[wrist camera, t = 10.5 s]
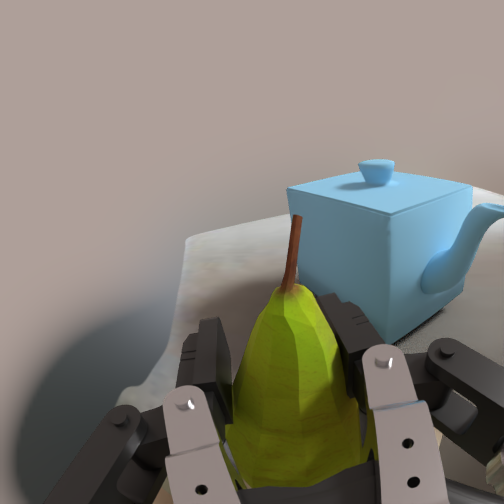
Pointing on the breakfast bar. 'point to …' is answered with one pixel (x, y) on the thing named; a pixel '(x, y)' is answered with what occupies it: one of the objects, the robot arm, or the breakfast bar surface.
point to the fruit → (292, 393)
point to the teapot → (388, 242)
